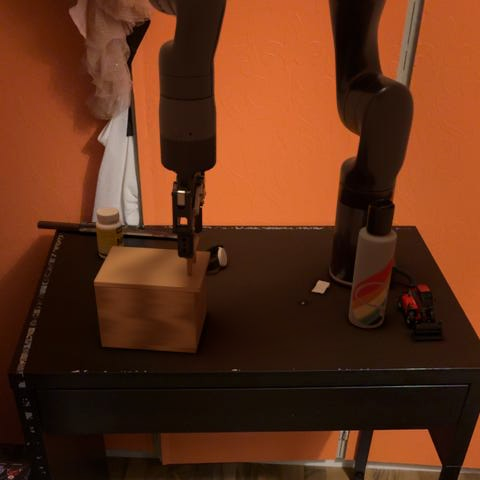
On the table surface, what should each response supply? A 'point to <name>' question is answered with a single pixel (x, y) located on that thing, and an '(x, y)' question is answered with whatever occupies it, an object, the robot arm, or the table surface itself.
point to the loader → (420, 313)
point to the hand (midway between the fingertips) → (190, 243)
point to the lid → (153, 269)
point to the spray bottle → (373, 266)
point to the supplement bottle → (108, 230)
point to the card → (320, 287)
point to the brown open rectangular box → (151, 318)
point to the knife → (91, 228)
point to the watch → (220, 260)
